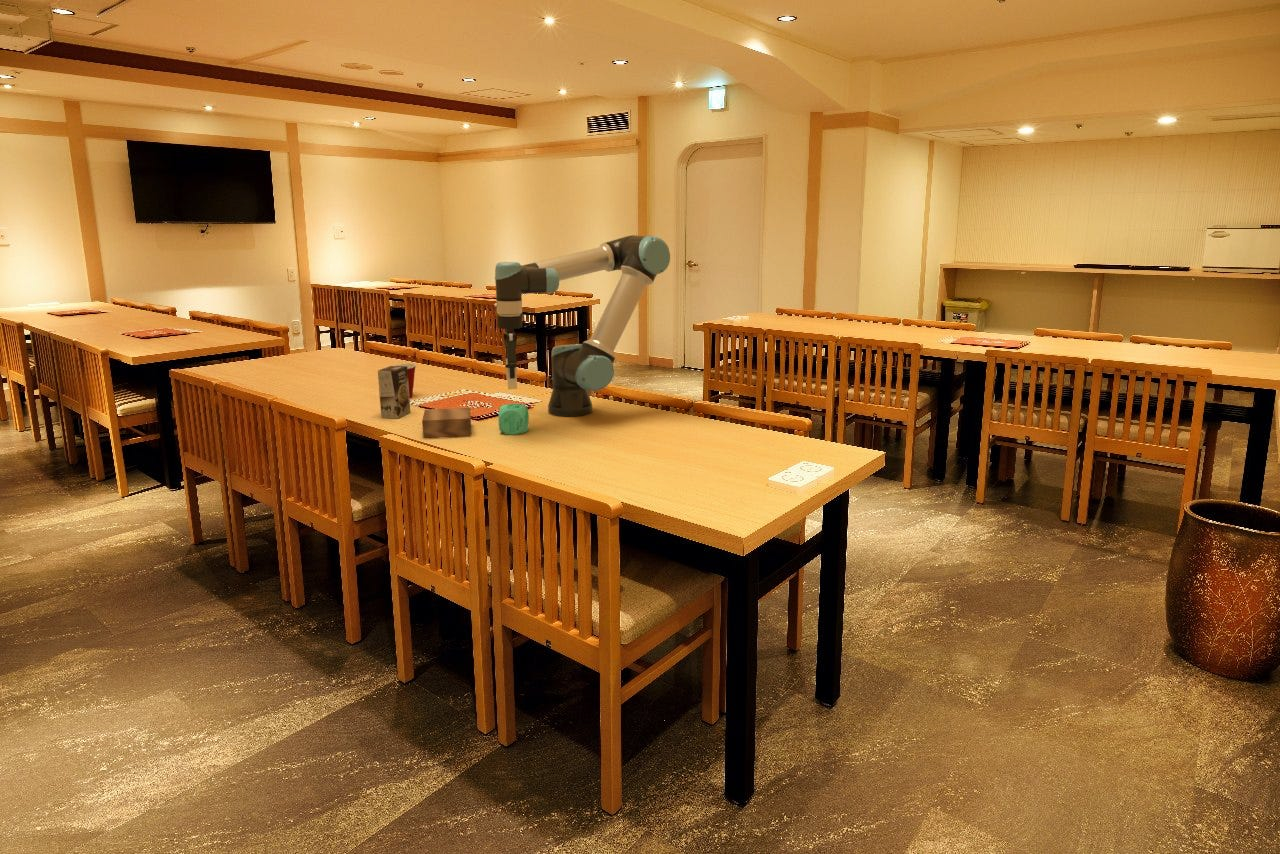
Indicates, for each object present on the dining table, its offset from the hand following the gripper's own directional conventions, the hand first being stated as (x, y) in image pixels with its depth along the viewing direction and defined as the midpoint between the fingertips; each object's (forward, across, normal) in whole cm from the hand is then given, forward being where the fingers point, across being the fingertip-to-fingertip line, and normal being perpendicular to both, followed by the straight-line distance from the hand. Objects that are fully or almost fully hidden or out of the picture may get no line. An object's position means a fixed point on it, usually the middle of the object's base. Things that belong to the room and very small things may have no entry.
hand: (511, 384), depth 243 cm
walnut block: (+16, -4, -20) cm, 26 cm away
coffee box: (+15, -28, -38) cm, 49 cm away
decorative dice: (+15, 0, 0) cm, 15 cm away
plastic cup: (+15, -55, -38) cm, 68 cm away
